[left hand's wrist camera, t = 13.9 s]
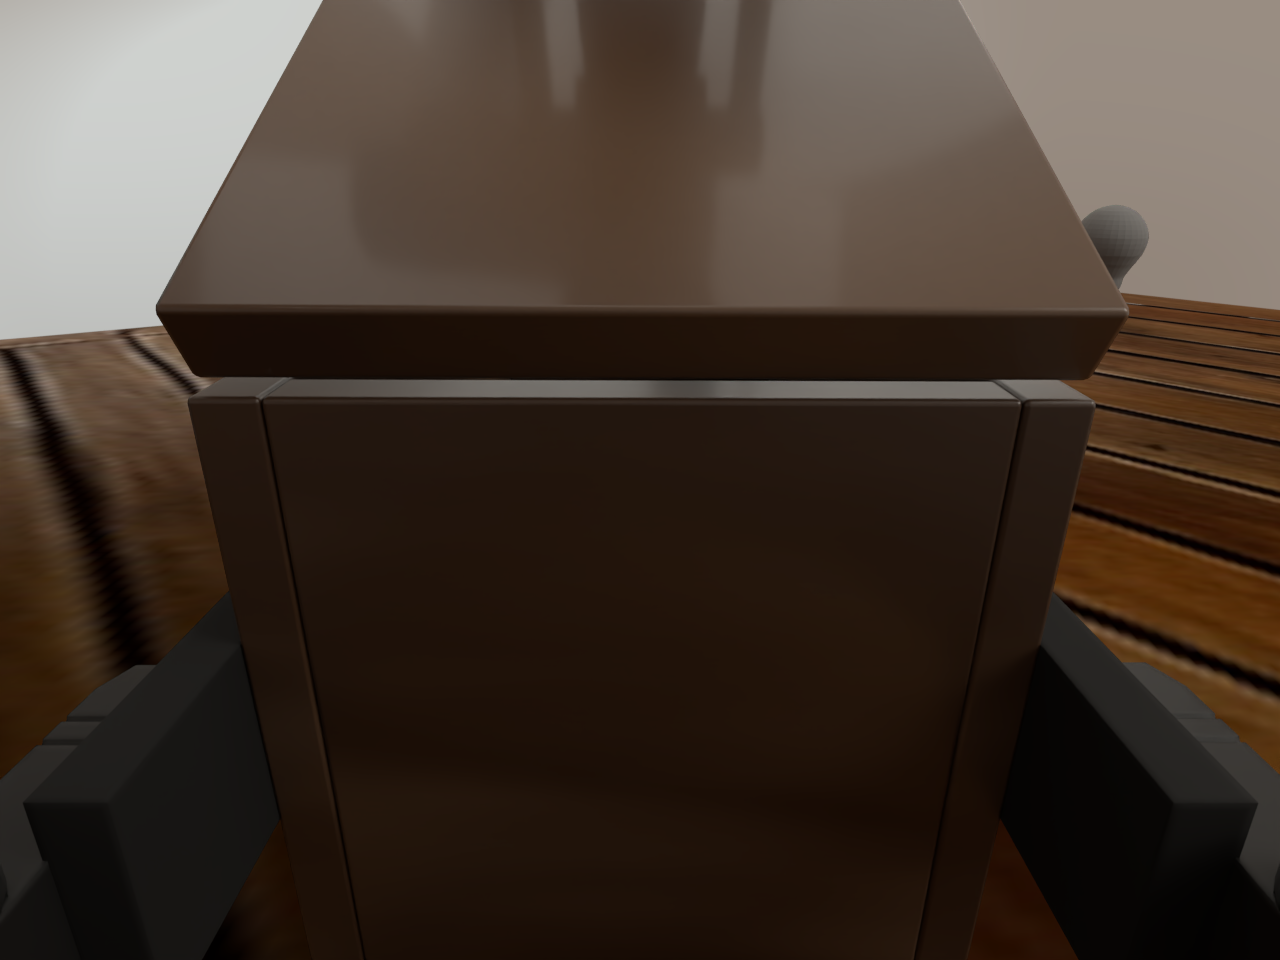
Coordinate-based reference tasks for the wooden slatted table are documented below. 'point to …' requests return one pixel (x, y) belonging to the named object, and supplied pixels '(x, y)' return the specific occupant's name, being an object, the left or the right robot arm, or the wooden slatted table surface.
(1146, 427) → the wooden slatted table surface
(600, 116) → the lid
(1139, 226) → the light bulb
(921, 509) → the chest
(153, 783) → the left robot arm
